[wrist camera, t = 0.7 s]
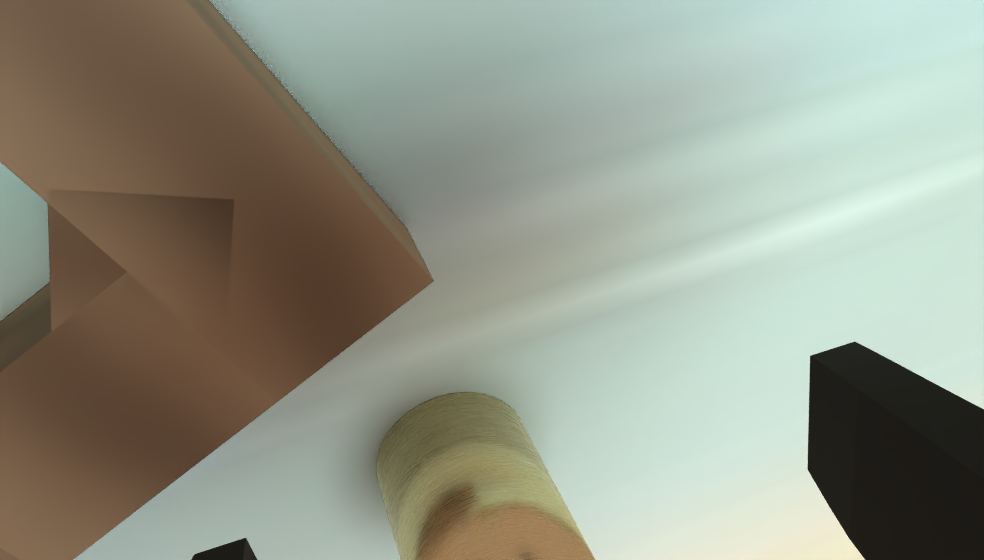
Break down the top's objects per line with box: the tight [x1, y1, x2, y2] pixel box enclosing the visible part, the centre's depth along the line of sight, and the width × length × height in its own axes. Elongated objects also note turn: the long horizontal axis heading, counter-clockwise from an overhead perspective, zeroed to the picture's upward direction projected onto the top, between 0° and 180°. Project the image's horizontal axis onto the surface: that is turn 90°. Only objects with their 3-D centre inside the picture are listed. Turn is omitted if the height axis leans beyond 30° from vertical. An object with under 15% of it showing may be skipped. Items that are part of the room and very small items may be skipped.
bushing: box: [376, 392, 595, 560], centre depth 21 cm, size 4×4×6 cm
